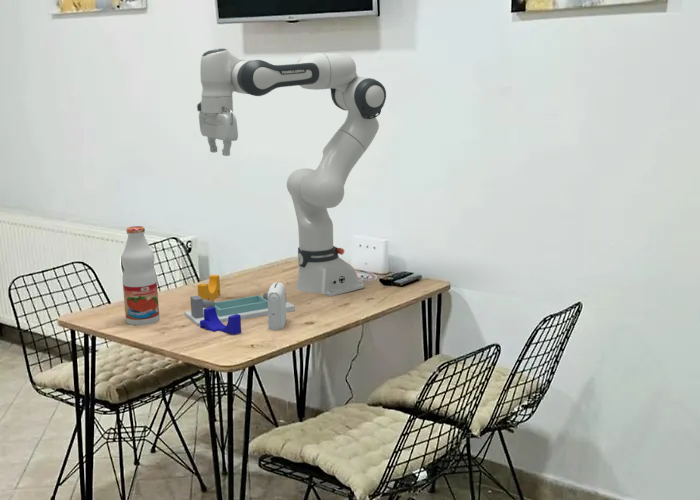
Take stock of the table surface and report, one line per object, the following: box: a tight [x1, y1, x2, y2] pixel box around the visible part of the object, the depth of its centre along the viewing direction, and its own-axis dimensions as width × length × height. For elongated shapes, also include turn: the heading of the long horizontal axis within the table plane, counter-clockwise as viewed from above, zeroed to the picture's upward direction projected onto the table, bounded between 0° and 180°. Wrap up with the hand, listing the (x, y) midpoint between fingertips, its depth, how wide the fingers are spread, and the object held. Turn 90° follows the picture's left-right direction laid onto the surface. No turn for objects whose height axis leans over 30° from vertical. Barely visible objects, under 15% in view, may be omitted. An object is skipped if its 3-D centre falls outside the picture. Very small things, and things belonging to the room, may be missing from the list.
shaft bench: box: [183, 292, 296, 327], centre depth 247 cm, size 30×12×7 cm, turn 119°
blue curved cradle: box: [199, 307, 242, 336], centre depth 232 cm, size 12×4×6 cm, turn 49°
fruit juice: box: [120, 225, 160, 326], centre depth 238 cm, size 9×9×28 cm
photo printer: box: [267, 281, 287, 331], centre depth 235 cm, size 10×4×12 cm, turn 177°
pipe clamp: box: [197, 274, 221, 301], centre depth 262 cm, size 12×4×6 cm, turn 169°
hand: (219, 153), depth 248 cm, fingers open, 8 cm apart
